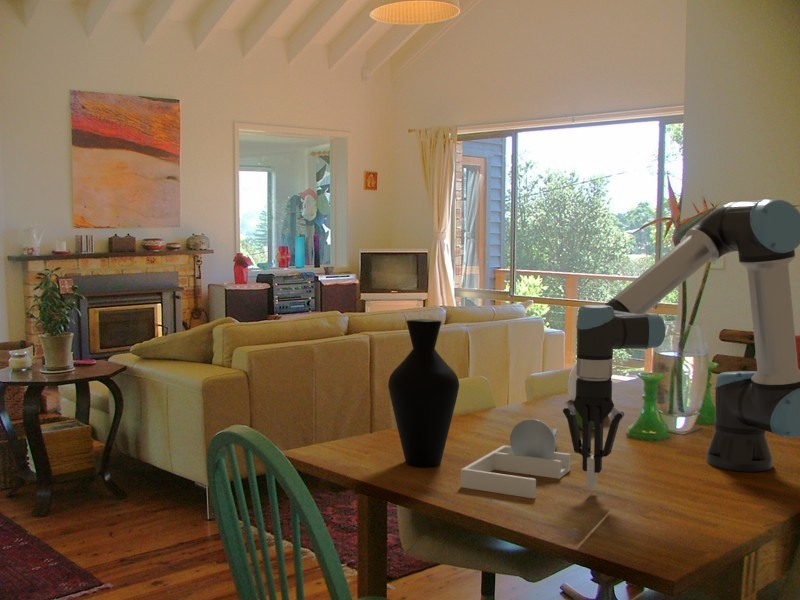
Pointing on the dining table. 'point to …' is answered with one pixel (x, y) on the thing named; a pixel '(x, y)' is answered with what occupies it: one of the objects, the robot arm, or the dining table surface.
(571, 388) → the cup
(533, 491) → the dish rack
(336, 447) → the dining table surface
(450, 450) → the dining table surface
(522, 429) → the grey plate
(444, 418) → the vase
